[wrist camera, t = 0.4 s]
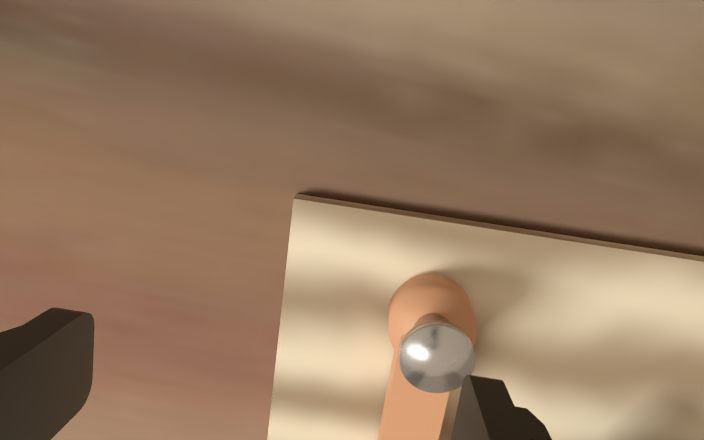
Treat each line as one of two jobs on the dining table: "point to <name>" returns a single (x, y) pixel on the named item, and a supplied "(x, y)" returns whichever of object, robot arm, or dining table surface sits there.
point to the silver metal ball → (436, 355)
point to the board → (489, 324)
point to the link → (401, 397)
